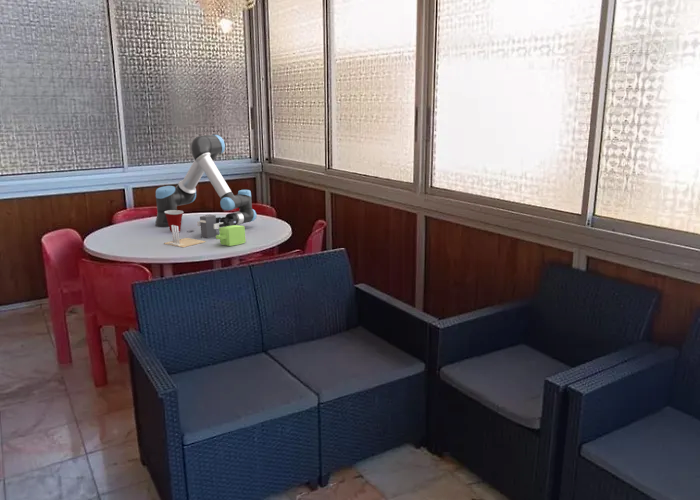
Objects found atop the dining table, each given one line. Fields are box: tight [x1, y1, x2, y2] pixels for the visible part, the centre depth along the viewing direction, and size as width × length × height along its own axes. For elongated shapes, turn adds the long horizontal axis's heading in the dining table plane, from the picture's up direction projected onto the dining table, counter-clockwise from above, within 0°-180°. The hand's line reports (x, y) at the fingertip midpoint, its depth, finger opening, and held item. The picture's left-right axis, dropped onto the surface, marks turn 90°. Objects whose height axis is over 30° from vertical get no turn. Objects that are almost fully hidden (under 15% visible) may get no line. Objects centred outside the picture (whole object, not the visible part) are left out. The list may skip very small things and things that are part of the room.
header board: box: [163, 225, 206, 248], centre depth 316 cm, size 16×15×10 cm
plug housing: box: [199, 214, 218, 240], centre depth 329 cm, size 5×7×12 cm
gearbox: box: [215, 224, 247, 247], centre depth 313 cm, size 18×10×10 cm, turn 140°
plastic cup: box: [165, 209, 184, 233], centre depth 345 cm, size 11×11×12 cm
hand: (205, 225), depth 327 cm, fingers open, 13 cm apart
